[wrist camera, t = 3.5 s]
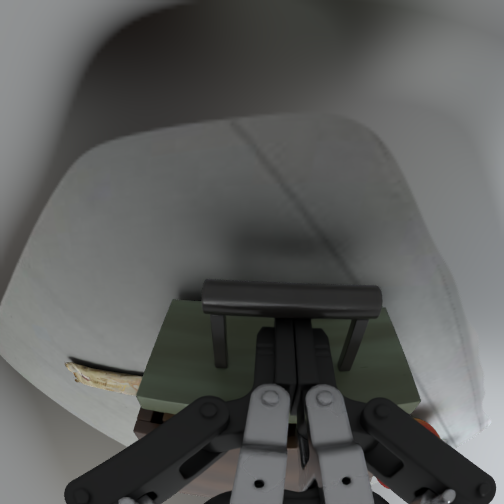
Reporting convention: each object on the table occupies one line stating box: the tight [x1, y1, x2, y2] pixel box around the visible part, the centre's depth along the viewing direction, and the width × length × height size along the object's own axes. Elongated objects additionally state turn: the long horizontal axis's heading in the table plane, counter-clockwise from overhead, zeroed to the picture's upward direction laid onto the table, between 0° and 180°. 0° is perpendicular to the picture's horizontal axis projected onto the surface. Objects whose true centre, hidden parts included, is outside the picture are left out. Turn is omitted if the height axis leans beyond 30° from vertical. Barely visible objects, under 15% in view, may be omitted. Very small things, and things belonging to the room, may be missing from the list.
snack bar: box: [64, 362, 143, 396], centre depth 24 cm, size 10×2×3 cm
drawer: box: [136, 279, 421, 436], centre depth 17 cm, size 17×13×7 cm
